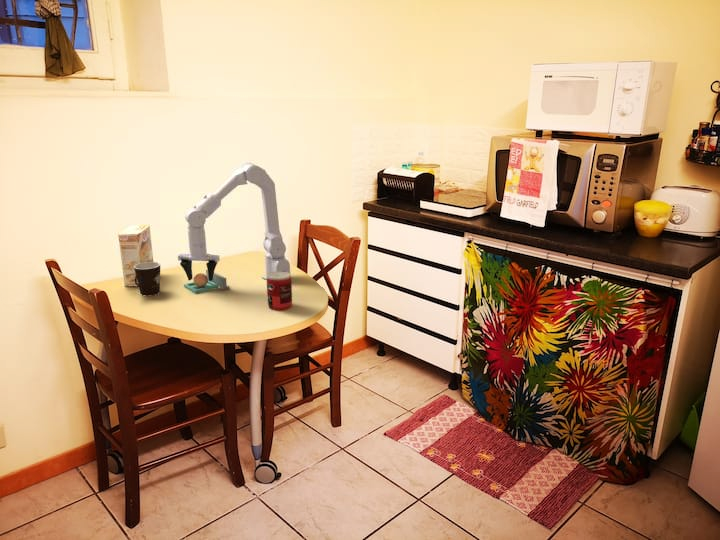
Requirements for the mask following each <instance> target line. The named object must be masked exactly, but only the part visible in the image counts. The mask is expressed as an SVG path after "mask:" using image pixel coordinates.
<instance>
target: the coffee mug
mask: <svg viewBox="0 0 720 540" xmlns="http://www.w3.org/2000/svg"><path fill="white" fill-rule="evenodd" d="M134 270H135V274H136V276H135V284H136V285H137V286H136V287H138V289H139V293H140V295H141V294H142V295H141V296H143V295H146V296H145V297H149V296H148V295H152V296H155V294H156V295H158V293H159V292H160V293H161V263H160V262H156V261H153V262H144V263H139V264H137V265H135V266H134ZM137 282H138V283H137ZM160 293H159V294H160Z"/></svg>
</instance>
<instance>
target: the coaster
mask: <svg viewBox="0 0 720 540" xmlns="http://www.w3.org/2000/svg"><path fill="white" fill-rule="evenodd" d="M183 287H184V288H185V289H186V290H189V291H190V292H192V293H193V294H199V293H204V292H209V291H212V290H216V289H220V287H219V286H218V285H217V284H215V283H213V282H211V281H209V280H208V283H207V284H206V285H205V286H204V287H198V286H196V285H195V284H194V281H192V282H188V283H185V284H183Z"/></svg>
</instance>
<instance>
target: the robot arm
mask: <svg viewBox="0 0 720 540" xmlns="http://www.w3.org/2000/svg"><path fill="white" fill-rule="evenodd" d="M248 182H249V183H250V184H253V185H255V186H257V187H258V188H260V190H261V199H262V208H263V219H264V227H265V233H264V239H263V240H264V241H263V242H262V243H263V248H264V250H265V251H266V252H265V256H264V258H265V260H264V261H265V275H262V276H261V279H265V280H266V281H267V274H268V273H271V272H277V271H282V272H288V273H290V274H291V265H290V262H289V260H288V259H287V258H286V256H285V253H286V250H287V248H286V245H285V242H284V240H283V235H282V233H281V231H280V222H279V212H278V203H277V191H276V184H275V181H274V180H273V179H272V177H271V176H270V175H269V174H268V173H267V171H266V170H265V169H264V168H263V167H260V166H258V165H255V164H254V163H251V162H246V163H244V164H243V165H241V167H238V169H236V170H235V171H234V172H233V173H232V174H231V176H230V177H229V178H228V179H227V180H226V181H225V182H224V183H222V185H221V186H220V187H219V188H218V189H217V190H216V191H215V192H214V193H212V192H211V193H207V194H204V195H203V196H202V200H200V201H199V202H198V203H197V204H194V205H193V206H192V208H191V209H189V210H188V211H187V212H186V215H185V217H184V218H185V220H186V222H187V234H188V235H187V237H188V248H189V253H179V254H178V255H177V259H178V261H180V262H179V264H180V266H181V268H182V269H183V271H184V273H185V275H186V277H187V280H188V281H192V280H193V261H194V262H195V261H197V262H206V264H205V265H206V268H207V269H208V278H209V281H212V280H213V274H214V272H215V270H216V267H217V265H218V263H219V262H220V260H221V259H220V258H221V257H220V255H218V254H217V255H216V254H210V253H208V252H207V241H206V240H207V239H206V238H207V237H206V229H205V223H206V220H207V218H210V217H211V216H212V215H213V214H214V213H215V212H216V211H217V210H218V209H219V208H220V207H221V206H222V200H224V198H226V197H227V196H228V195H229V194H230V193H231V192H233V190H235V189H236V188H237V187H239V186H243V185H248ZM207 269H206V270H207ZM291 280H293V277H291Z"/></svg>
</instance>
